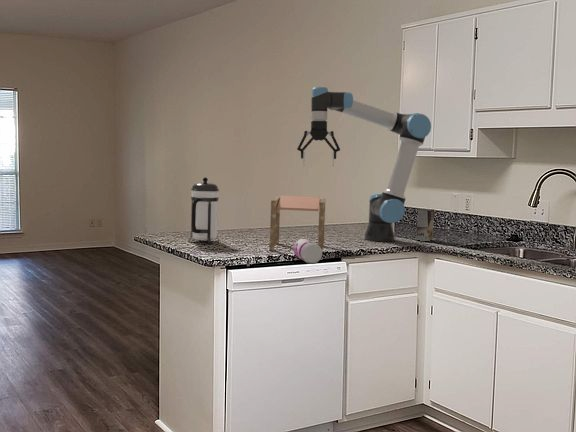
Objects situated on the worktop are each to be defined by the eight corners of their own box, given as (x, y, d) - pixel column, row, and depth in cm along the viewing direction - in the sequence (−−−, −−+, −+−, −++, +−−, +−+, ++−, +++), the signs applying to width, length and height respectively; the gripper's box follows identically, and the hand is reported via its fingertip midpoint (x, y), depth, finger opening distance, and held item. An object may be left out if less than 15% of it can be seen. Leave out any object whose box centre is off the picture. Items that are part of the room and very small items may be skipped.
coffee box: (428, 242, 346) (430, 210, 345) (415, 241, 349) (417, 209, 347) (432, 240, 354) (434, 209, 353) (420, 239, 357) (422, 208, 356)
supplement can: (301, 246, 269) (291, 240, 283) (304, 266, 270) (294, 259, 285) (320, 241, 271) (309, 236, 285) (324, 261, 272) (313, 255, 287)
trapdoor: (319, 202, 318) (320, 196, 317) (318, 214, 301) (318, 208, 300) (281, 200, 320) (281, 195, 319) (277, 212, 302) (277, 207, 302)
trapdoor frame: (323, 245, 322) (325, 198, 320) (322, 253, 299) (324, 202, 297) (274, 243, 324) (276, 196, 322) (269, 250, 301) (271, 200, 299)
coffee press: (181, 240, 325) (183, 176, 322) (214, 239, 331) (216, 176, 328) (191, 245, 309) (193, 178, 306) (225, 244, 315) (227, 178, 312)
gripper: (345, 121, 328) (344, 165, 330) (292, 120, 328) (292, 165, 331) (346, 120, 320) (345, 166, 322) (292, 120, 321) (291, 165, 323)
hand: (318, 165), depth 327 cm, fingers open, 13 cm apart
